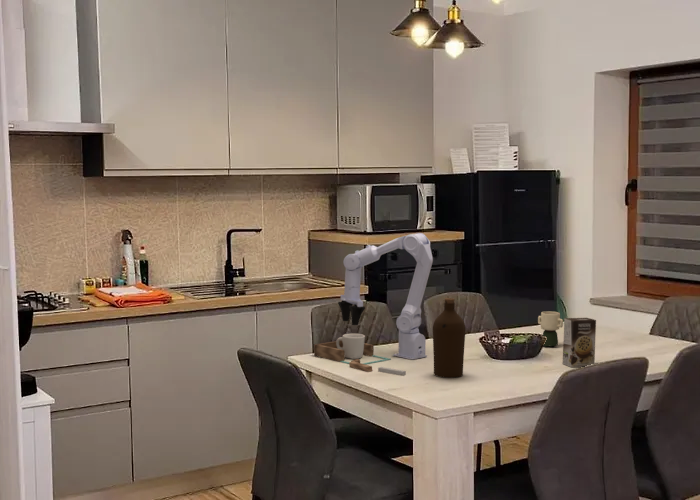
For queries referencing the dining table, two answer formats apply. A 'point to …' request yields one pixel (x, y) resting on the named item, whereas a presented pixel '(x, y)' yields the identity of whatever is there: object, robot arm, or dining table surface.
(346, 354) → the cup
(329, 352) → the cubby
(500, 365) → the dining table surface
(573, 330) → the cookie box
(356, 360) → the crook stick
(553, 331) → the beige and green trophy
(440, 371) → the olive oil
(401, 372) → the straight stick
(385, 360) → the bay
